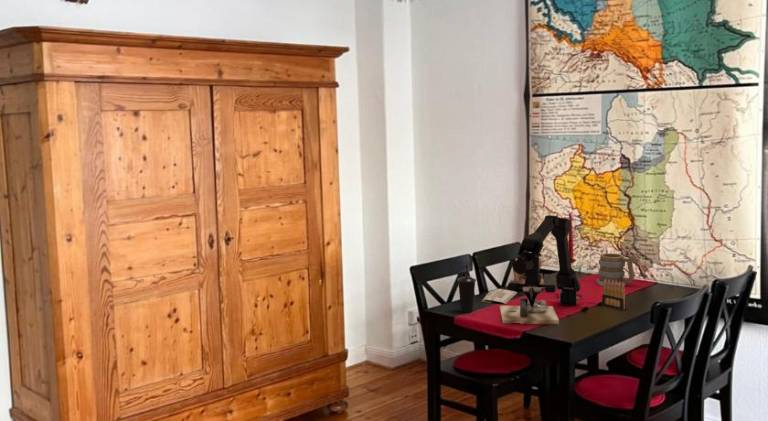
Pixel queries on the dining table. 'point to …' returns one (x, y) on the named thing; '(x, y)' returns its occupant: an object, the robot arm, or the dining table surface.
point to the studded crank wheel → (526, 307)
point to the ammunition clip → (614, 295)
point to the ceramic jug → (520, 276)
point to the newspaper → (499, 296)
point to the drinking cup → (466, 292)
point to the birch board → (513, 316)
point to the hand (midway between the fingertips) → (532, 307)
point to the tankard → (615, 268)
